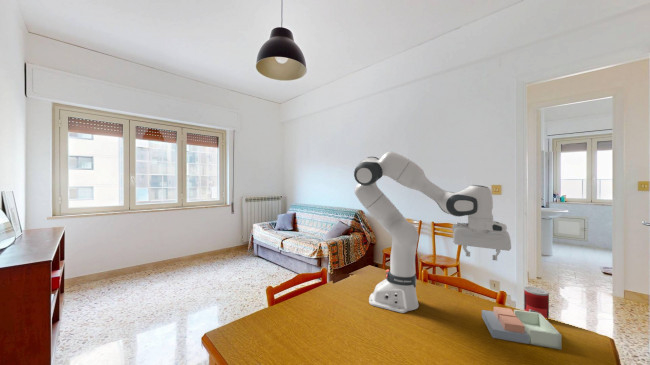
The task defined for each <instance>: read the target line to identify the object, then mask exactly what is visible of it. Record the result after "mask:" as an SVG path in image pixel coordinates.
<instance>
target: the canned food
mask: <svg viewBox="0 0 650 365" xmlns="http://www.w3.org/2000/svg"><path fill="white" fill-rule="evenodd" d="M523 291H524V292H523V302H524V304H523V309H524V310H523V311H528V312H536V313H540V314H541V315H542V316H543V317H544V318H547V319H548V320H549V317H550V314H549V310H550V304H549V303H550V296H549V295H550V294H549V291H547V290H545V289H543V288H540V287H536V286H525V287H524V289H523Z"/></svg>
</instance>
